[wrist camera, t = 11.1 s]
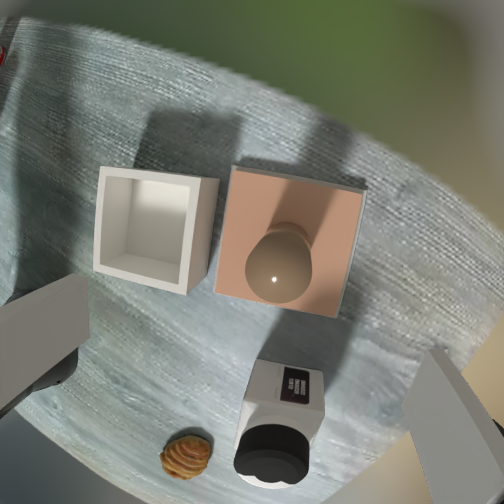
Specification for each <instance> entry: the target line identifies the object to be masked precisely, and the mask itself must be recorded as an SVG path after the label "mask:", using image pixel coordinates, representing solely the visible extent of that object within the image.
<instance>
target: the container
mask: <svg viewBox="0 0 504 504" xmlns="http://www.w3.org/2000/svg"><path fill="white" fill-rule="evenodd" d="M324 416H325V402H324V382H323V373H322V371H318V370H312V369H307V368H301V367H296V366H290V365H285V364H280V363H275V362H270V361H265V360H260V359H257V360H255V362H254V366H253V369H252V372H251V375H250V379H249V382H248V385H247V388H246V392H245V395H244V398H243V402H242V407H241V412H240V417H239V422H238V426H237V431H236V436H235V441H234V445H233V447H234V449H235V450H237V451H236V455H235V458H234V468H235V470H236V472H237V473H238V474H239V476H240V477H241V478H242V479H244V480H245V481H247V482H248V483H250V484H253V485H255V486H258V487H263V488H270V489H279V488H286V487H289V486H292V485H295V484H296V483H298V482H300V481H301V480H302V479H303V478H304V477H305V476H306V475H307V473H308V470H309V451H310V449H311V446H312V444H313V442H314V439H315V437H316V435H317V432H318V430H319V428H320V425H321V423H322V421H323V418H324Z"/></svg>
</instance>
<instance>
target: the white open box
mask: <svg viewBox="0 0 504 504" xmlns="http://www.w3.org/2000/svg"><path fill="white" fill-rule="evenodd" d="M219 184H220V179H218V178H211V177H204V176H197V175H190V174H183V173H175V172H167V171H159V170H151V169H142V168H133V167H111V166H100V174H99V183H98V193H97V204H96V216H95V232H94V258H93V270H94V271H97V272H101V273H104V274H108V275H111V276H115V277H118V278H122V279H125V280H129V281H133V282H136V283H140V284H144V285H147V286H151V287H155V288H159V289H163V290H167V291H171V292H174V293H178V294H182V295H187V294H188V293H189V292H190V291H191V290H192V289H193V288H194V287H195V286H197V285H198V284H199V283H200V282H201V281H202V280H203V279H204V278H205V277H206V275H207V267H208V260H209V252H210V245H211V238H212V231H213V224H214V217H215V210H216V204H217V197H218V191H219Z"/></svg>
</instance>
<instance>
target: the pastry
mask: <svg viewBox="0 0 504 504" xmlns="http://www.w3.org/2000/svg"><path fill="white" fill-rule="evenodd" d="M210 451H211V448H210V444H209V442H208V441H205V440H204V439H202V438H200V437H197V436H194V435H188V436H185V437H183V438H180V439H175V440H173V442H171V443H169V444H168V445H167V446H166V448H165V450H164V451H163V452H162V453H161V454H160V459H161V464H162V468H163V470H164V471H165V472H166V473H167V474H168V475H170V476H172V477H173V478H177V479H182V480H187V479H191V478H192V477H194V476H197V475H199V474H201V473H202V471H203V470H204V469H205V468H206V467H207V464H208V459H209V456H210Z"/></svg>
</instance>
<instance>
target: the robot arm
mask: <svg viewBox="0 0 504 504" xmlns="http://www.w3.org/2000/svg"><path fill="white" fill-rule="evenodd" d="M89 338H90V333H89V314H88V277H85V276H82V275H78V274H75V273H72V274H70V275H68V276H66V277H64V278H61V279H59V280H57V281H55V282H53V283H50V284H48V285H46V286H44V287H42V288H40V289H37V290H35V291H34V290H23V291H20V292H18V293H16V294H14V295H12V296H11V297H10V298H9V299H8V300H7V301H6V303H5V304H4V305H3V306H2V307H0V419H1V418H3V417H4V416H5V415H6V414H7V413H8V412H10V411H11V410H12V409H13V408H14V407H15V406H17V405H18V404H19V403H20V402H21V401H23V400H24V399H25V398H26V397H27V396H28V395H30V394H31V393H32V392H34V391H38V390H42V389H45V388H48V387H50V386H54V385H58V384H61V383H63V382H64V381H65V380H67V379H68V378H69V377H70V376H71V375H72V374H73V373H74V371H75V369H76V366H77V351H76V348H77V347H79V346H80V345H81V344H82V343H84V342H85V341H86V340H87V339H89ZM401 409H402V411H403V414H404V417H405V419H406V422H407V425H408V428H409V430H410V433H411V436H412V439H413V442H414V445H415V448H416V450H417V454H418V456H419V459H420V463H421V466H422V468H423V472H424V475H425V478H426V482H427V485H428V488H429V491H430V495H431V498H432V502H433V504H504V429H503V427H502V426H500V425H499V424H498V423H497V422H496V421H495V420H494V419H492V418H491V417H490V416H489V414H488V412H487V411H486V409H485V408H484V406H483V405H482V403H481V402H480V401H479V399H478V397H477V396H476V395H475V393H474V392H473V390H472V389H471V387H470V386H469V385H468V383H467V382H466V380H465V379H464V377H463V376H462V375H461V373H460V372H459V371H458V369H457V368H456V366H455V365H454V364H453V362H452V361H451V360H450V358H449V357H448V356H447V354H446V353H445V352H444V350H436V349H427V350H426V353H425V355H424V358H423V360H422V362H421V365H420V367H419V369H418V372H417V374H416V376H415V378H414V380H413V382H412V385H411V387H410V389H409V391H408V393H407V395H406V397H405V399H404V401H403V403H402V405H401Z"/></svg>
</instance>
